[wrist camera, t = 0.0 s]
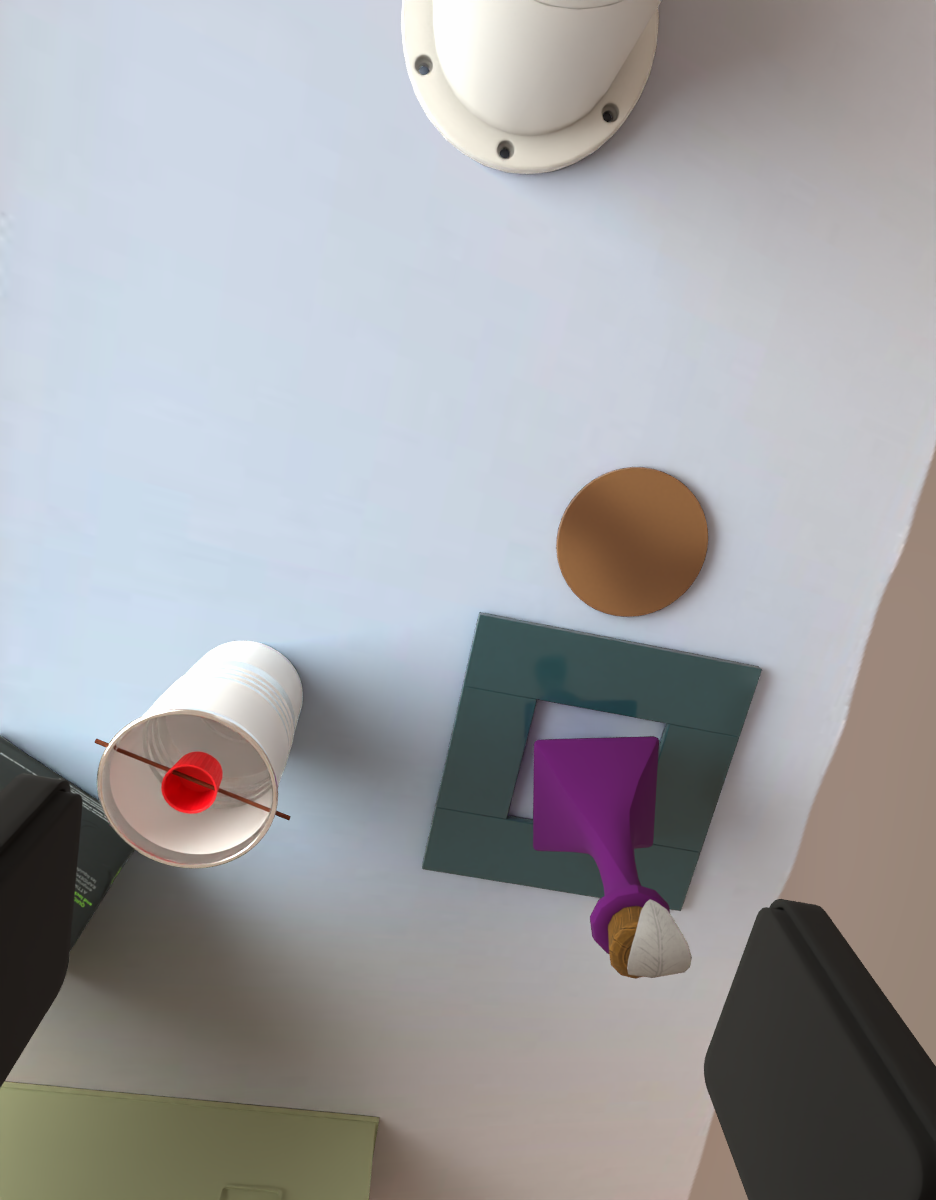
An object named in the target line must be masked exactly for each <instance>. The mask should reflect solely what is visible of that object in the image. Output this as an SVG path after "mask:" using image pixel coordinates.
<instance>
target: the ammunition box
mask: <svg viewBox="0 0 936 1200" xmlns="http://www.w3.org/2000/svg"><path fill="white" fill-rule="evenodd" d="M378 1123H379V1118H378V1117H370V1116H362V1115H351V1114H340V1113H330V1112H319V1111H309V1110H298V1109H288V1108H277V1107H267V1106H256V1105H246V1104H235V1103H225V1102H214V1101H204V1100H193V1099H182V1098H172V1097H161V1096H151V1095H140V1094H130V1093H119V1092H109V1091H98V1090H88V1089H77V1088H67V1087H56V1086H46V1085H35V1084H24V1083H14V1082H4V1083H3V1084H2V1086H1V1088H0V1200H369V1192H370V1180H371V1168H372V1159H373V1153H374V1147H375V1141H376V1135H377V1129H378Z"/></svg>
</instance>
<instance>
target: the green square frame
mask: <svg viewBox="0 0 936 1200" xmlns="http://www.w3.org/2000/svg"><path fill="white" fill-rule="evenodd" d="M761 671H762V669H761V668H760V667H759V666H754V665H749V664H744V663H739V662H734V661H729V660H723V659H718V658H713V657H708V656H703V655H698V654H693V653H687V652H682V651H677V650H672V649H667V648H662V647H657V646H651V645H646V644H641V643H636V642H631V641H626V640H620V639H615V638H610V637H605V636H600V635H595V634H590V633H584V632H579V631H574V630H569V629H564V628H559V627H553V626H548V625H543V624H538V623H533V622H528V621H523V620H517V619H512V618H507V617H502V616H497V615H492V614H487V613H481V612H479V615H478V619H477V624H476V628H475V633H474V637H473V641H472V646H471V650H470V655H469V659H468V664H467V668H466V672H465V677H464V681H463V686H462V690H461V695H460V699H459V703H458V708H457V712H456V717H455V721H454V725H453V730H452V734H451V739H450V743H449V748H448V752H447V756H446V761H445V765H444V770H443V774H442V778H441V783H440V787H439V792H438V796H437V800H436V805H435V809H434V814H433V818H432V823H431V827H430V831H429V836H428V840H427V845H426V849H425V853H424V858H423V862H422V869H426V870H432V871H438V872H444V873H450V874H456V875H462V876H469V877H475V878H481V879H487V880H493V881H499V882H505V883H512V884H518V885H524V886H530V887H536V888H542V889H548V890H555V891H561V892H567V893H573V894H579V895H585V896H591V897H598V898H602V897H604V896H605V895H604V887H603V882H602V879H601V875H600V871H599V868H598V866H597V864H596V862H595V860H594V858H593V857H592V856H591V855H589V854H585V853H577V852H552V851H537V850H535V849H534V848H533V820H532V819H526V818H520V817H514V816H508V811H509V808H510V804H511V800H512V796H513V792H514V788H515V784H516V780H517V776H518V772H519V768H520V764H521V761H522V757H523V753H524V749H525V745H526V741H527V737H528V733H529V729H530V725H531V721H532V718H533V714H534V710H535V706H536V702H537V699H538V700H544V701H549V702H554V703H560V704H565V705H571V706H576V707H581V708H587V709H592V710H598V711H603V712H608V713H614V714H619V715H625V716H630V717H635V718H641V719H646V720H652V721H657V722H662V723H666V726H665V729H664V732H663V735H662V739H661V742H660V745H659V750H658V767H657V785H656V802H655V820H654V837H653V844H652V846H651V847H648V848H635V849H634V855H635V863H636V868H637V873H638V878H639V881H640V884H641V886H643V887H647V888H650V889H653V890H655V891H656V892H657V893H658V894H659V895H660V896H661V897H662V898H663V899H664V900H665V901H666V902H667V903H668V905H669V909H671V910H677V911H681V909H682V906H683V903H684V900H685V897H686V894H687V891H688V888H689V885H690V882H691V879H692V876H693V873H694V870H695V867H696V864H697V861H698V858H699V855H700V852H701V849H702V846H703V844H704V841H705V838H706V835H707V832H708V829H709V826H710V823H711V820H712V817H713V814H714V811H715V808H716V805H717V802H718V799H719V796H720V793H721V790H722V787H723V784H724V781H725V778H726V775H727V772H728V769H729V766H730V763H731V760H732V757H733V754H734V751H735V748H736V745H737V742H738V739H739V736H740V734H741V731H742V728H743V725H744V722H745V719H746V716H747V713H748V710H749V707H750V704H751V701H752V698H753V695H754V692H755V689H756V686H757V683H758V680H759V677H760V674H761Z"/></svg>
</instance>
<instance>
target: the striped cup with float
mask: <svg viewBox="0 0 936 1200" xmlns="http://www.w3.org/2000/svg"><path fill="white" fill-rule="evenodd" d="M302 703H303V690H302V684H301V681H300V678H299V675H298V673H297V671H296V670H295V668H294V667H293V665H292V664H291V663H290V661H289V660H288V659H287V658H286V657H285V656H283V655H282V654H281V653H280V652H278V651H277V650H275V649H273V648H271V647H269V646H267V645H264V644H261V643H258V642H253V641H233V642H229V643H225V644H222V645H220V646H218V647H216V648H214V649H212V650H211V651H209V652H208V653H207V654H205V655H204V656H203V657H202V658H201V659H200V660H199V661H198V662H197V663H196V664H195V665H194V666H193V667H192V668H191V669H190V670H189V671H188V672H187V673H185V674H184V675H183V676H182V677H181V678H179V679H178V680H177V681H176V682H175V683H174V684H173V685H172V686H171V687H170V688H169V689H168V690H167V691H165V692H164V693H163V695H161V696H160V697H159V698H158V699H157V700H156V702H155V703H154V704H153V705H152V706H151V708H150V709H149V710H148V711H147V712H146V713H145V714H144V715H143V716H142V717H140V718H138V719H137V720H135V721H133V722H131V723H130V724H128V725H127V726H125V727H124V728H123V729H122V730H120V731H119V732H118V733H117V734H116V735H115V736H114V738H113V739H112V740H111V742H110V743H109V744H108V743H106V742H103V741H101V740H99V739H96V740H95V743H97V744H99V745H102V746H104V747H107V748H106V749H105V751H104V753H103V755H102V758H101V761H100V764H99V768H98V774H97V791H98V797H99V801H100V805H101V808H102V810H103V813H104V815H105V817H106V819H107V820H108V822H109V824H110V825H111V827H112V828H113V829H114V831H115V832H116V833H117V834H118V835H119V837H120V838H121V839H122V840H123V841H125V842H126V843H127V844H128V845H129V846H130V847H132V848H133V849H134V850H136V851H137V852H139V853H141V854H142V855H144V856H146V857H148V858H150V859H152V860H155V861H157V862H160V863H163V864H166V865H170V866H175V867H181V868H208V867H213V866H218V865H221V864H225V863H228V862H230V861H233V860H235V859H237V858H239V857H241V856H242V855H244V854H246V853H247V852H248V851H250V850H251V849H252V848H253V847H255V846H256V845H257V844H258V843H259V842H260V840H261V839H262V838H263V837H264V836H265V834H266V833H267V831H268V830H269V828H270V826H271V824H272V822H273V819H274V817H275V815H277V816H279V817H282V818H284V819H287V820H289V819H290V817H291V816H288V815H286V814H283V813H281V812H278V811H276V810H277V804H278V786H279V783H280V780H281V777H282V774H283V772H284V770H285V767H286V764H287V760H288V757H289V753H290V750H291V747H292V743H293V737H294V733H295V729H296V725H297V722H298V718H299V715H300V711H301V708H302Z"/></svg>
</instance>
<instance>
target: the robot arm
mask: <svg viewBox="0 0 936 1200" xmlns="http://www.w3.org/2000/svg"><path fill="white" fill-rule="evenodd" d="M661 1H662V0H403V6H402V19H401V26H402V42H403V49H404V55H405V61H406V66H407V71H408V74H409V77H410V80H411V83H412V86H413V89H414V91H415V94H416V97H417V99H418V100H419V102H420V104H421V106H422V108H423V109H424V111H425V113H426V115H427V117H428V118H429V120H430V121H431V122H432V123H433V125H434V126H435V127H436V128H437V130H438V131H439V132H440V133H441V135H442V136H443V137H444V138H445V139H446V140H447V141H448V142H450V143H451V144H452V145H453V146H454V147H455V148H457V149H458V150H459V151H460V152H461V153H463V154H464V155H466V156H468V157H469V158H471V159H473V160H475V161H477V162H479V163H480V164H482V165H484V166H487V167H490V168H494V169H497V170H500V171H504V172H507V173H519V174H536V173H544V172H552V171H555V170H558V169H561V168H564V167H566V166H569V165H572V164H575V163H576V162H578V161H580V160H581V159H583V158H585V157H586V156H588V155H590V154H592V153H593V152H595V151H596V150H597V149H598V148H599V147H601V146H602V145H603V144H604V143H605V142H606V141H607V140H608V139H609V138H611V137H612V136H613V135H614V134H615V132H616V131H617V130H618V129H619V128H620V126H621V125H622V124H623V123H624V121H625V120H626V119H627V117H628V116H629V114H630V112H631V111H632V109H633V108H634V106H635V104H636V103H637V101H638V100H639V98H640V96H641V94H642V91H643V89H644V86H645V84H646V82H647V79H648V77H649V75H650V72H651V68H652V63H653V59H654V55H655V51H656V47H657V36H658V22H659V14H658V6H659V4H660V2H661ZM422 66H426V67H427V68H428V69H429V73H428V74H427V75H422V74H420V72H419V69H420V68H421V67H422ZM604 113H609V114H610V115H611V121H610V122H606V121H604V119H603V114H604ZM502 149H506V150H508V152H509V157H508V158H502V157H501V156H500V151H501V150H502ZM82 804H83V800H82V796H81V795H80V794H76V793H71V788H70V784H69V782H68V781H67V780H62V779H56V778H50V777H44V776H38V775H31V774H25V773H23V774H19V775H18V776H16V777H15V778H14V779H13V780H12V781H11V782H10V783H9V784H8V785H7V786H6V787H5V788H3V789H2V790H1V791H0V1088H1V1086H2V1084H3V1083H4V1081H5V1079H6V1078H7V1076H8V1075H9V1073H10V1071H11V1070H12V1068H13V1066H14V1065H15V1063H16V1061H17V1060H18V1058H19V1057H20V1055H21V1053H22V1052H23V1050H24V1048H25V1047H26V1045H27V1044H28V1042H29V1040H30V1039H31V1037H32V1035H33V1034H34V1032H35V1030H36V1029H37V1027H38V1026H39V1024H40V1022H41V1021H42V1019H43V1017H44V1016H45V1014H46V1013H47V1011H48V1009H49V1008H50V1006H51V1004H52V1003H53V1001H54V999H55V998H56V996H57V994H58V992H59V991H60V988H61V986H62V984H63V981H64V978H65V975H66V972H67V968H68V962H69V951H70V940H71V929H72V918H73V907H74V895H75V884H76V873H77V862H78V851H79V839H80V828H81V817H82ZM704 1076H705V1083H706V1086H707V1090H708V1092H709V1095H710V1098H711V1100H712V1103H713V1106H714V1108H715V1111H716V1114H717V1116H718V1119H719V1122H720V1124H721V1127H722V1130H723V1132H724V1135H725V1138H726V1140H727V1143H728V1146H729V1149H730V1151H731V1154H732V1157H733V1159H734V1162H735V1165H736V1167H737V1170H738V1173H739V1176H740V1178H741V1181H742V1183H743V1186H744V1189H745V1192H746V1194H747V1197H748V1199H749V1200H936V1066H935V1065H934V1064H933V1062H932V1061H931V1059H930V1058H929V1056H928V1055H927V1054H926V1052H925V1051H924V1049H923V1048H922V1047H921V1045H920V1044H919V1042H918V1041H917V1040H916V1038H915V1037H914V1035H913V1034H912V1033H911V1031H910V1030H909V1028H908V1027H907V1026H906V1024H905V1023H904V1021H903V1020H902V1019H901V1017H900V1016H899V1014H898V1013H897V1011H896V1010H895V1009H894V1007H893V1006H892V1004H891V1003H890V1002H889V1001H888V999H887V997H886V996H885V995H884V993H883V992H882V991H881V989H880V988H879V986H878V985H877V984H876V982H875V981H874V979H873V978H872V976H871V975H870V974H869V972H868V971H867V969H866V968H865V967H864V965H863V964H862V962H861V961H860V960H859V958H858V957H857V955H856V954H855V952H854V951H853V950H852V948H851V947H850V946H849V944H848V943H847V941H846V940H845V938H844V937H843V936H842V934H841V933H840V931H839V930H838V929H837V927H836V926H835V925H834V923H833V922H832V920H831V919H830V917H829V916H828V915H827V913H826V912H825V911H824V910H823V909H822V908H821V907H820V906H817V905H813V904H807V903H801V902H795V901H789V900H783V899H778V900H775V901H774V902H773V903H772V904H771V906H770V908H767V907H766V908H762V909H761V910H760V911H759V913H758V915H757V917H756V920H755V923H754V925H753V928H752V931H751V934H750V936H749V939H748V942H747V945H746V947H745V950H744V953H743V955H742V958H741V961H740V964H739V966H738V969H737V972H736V974H735V977H734V980H733V983H732V985H731V988H730V991H729V994H728V996H727V999H726V1002H725V1004H724V1007H723V1010H722V1013H721V1015H720V1018H719V1021H718V1023H717V1026H716V1029H715V1032H714V1034H713V1037H712V1040H711V1043H710V1045H709V1048H708V1051H707V1053H706V1057H705V1063H704Z"/></svg>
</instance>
